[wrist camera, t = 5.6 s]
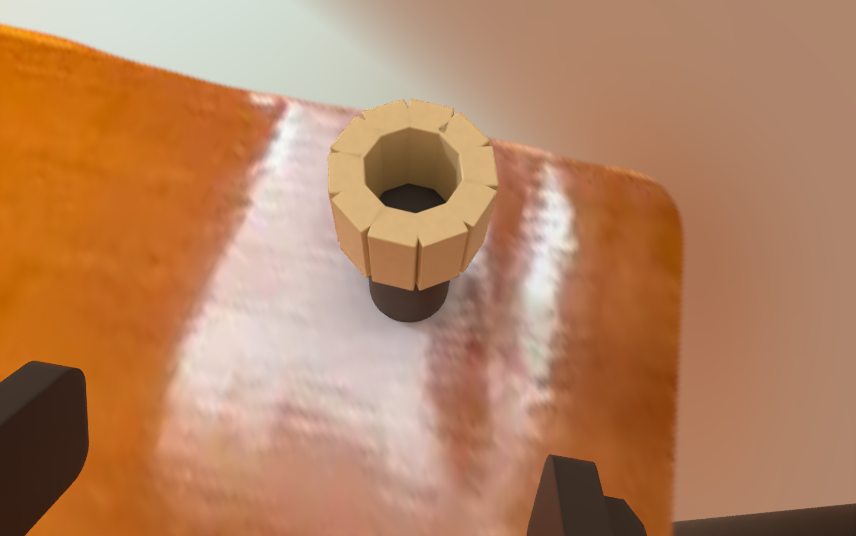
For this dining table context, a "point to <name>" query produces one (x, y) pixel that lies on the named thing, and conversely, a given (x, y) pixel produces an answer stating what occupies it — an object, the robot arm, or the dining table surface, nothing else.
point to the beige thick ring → (419, 165)
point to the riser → (415, 302)
